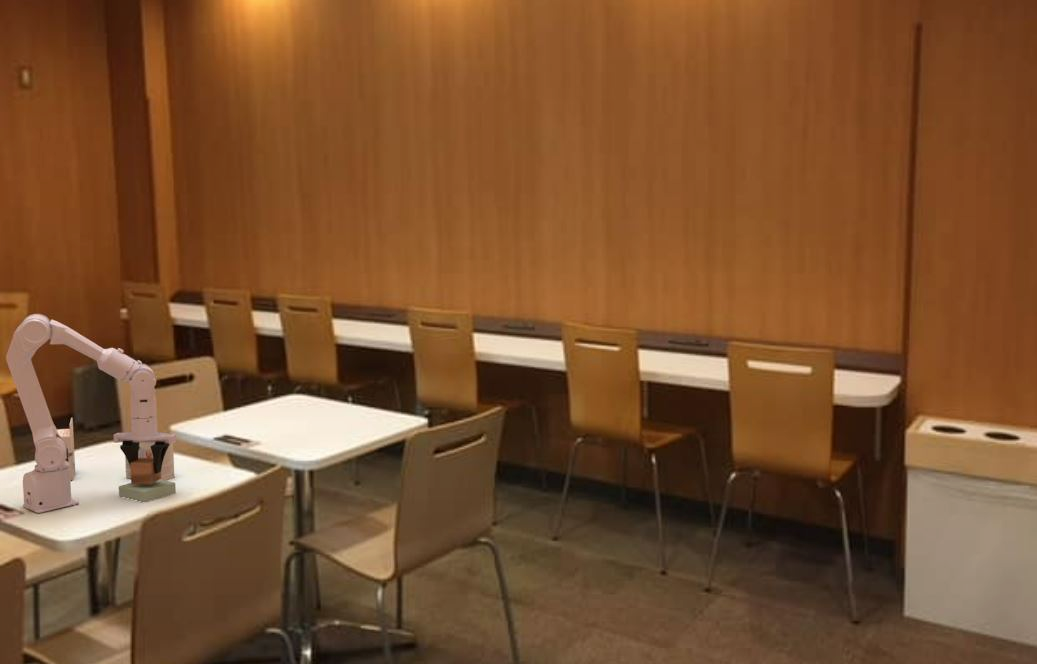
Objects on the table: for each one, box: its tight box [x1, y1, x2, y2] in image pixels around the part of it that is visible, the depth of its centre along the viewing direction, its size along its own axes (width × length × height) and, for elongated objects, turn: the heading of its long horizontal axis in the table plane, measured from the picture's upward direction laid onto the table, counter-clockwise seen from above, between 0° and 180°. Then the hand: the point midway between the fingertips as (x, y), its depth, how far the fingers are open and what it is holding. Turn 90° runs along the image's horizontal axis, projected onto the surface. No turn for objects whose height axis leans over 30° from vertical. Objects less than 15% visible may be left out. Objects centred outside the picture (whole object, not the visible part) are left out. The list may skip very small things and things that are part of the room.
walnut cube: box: [130, 458, 161, 484], centre depth 226 cm, size 5×5×5 cm
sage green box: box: [118, 479, 177, 503], centre depth 227 cm, size 9×9×3 cm
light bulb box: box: [124, 442, 176, 481], centre depth 241 cm, size 11×7×11 cm, turn 62°
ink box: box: [57, 417, 76, 481], centre depth 241 cm, size 9×5×15 cm, turn 22°
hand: (146, 472), depth 227 cm, fingers closed on walnut cube, 5 cm apart
